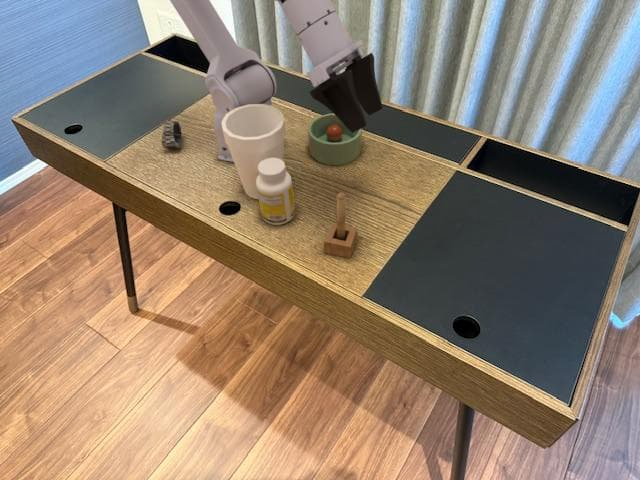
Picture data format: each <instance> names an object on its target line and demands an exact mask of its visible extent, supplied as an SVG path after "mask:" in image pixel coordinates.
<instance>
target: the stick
mask: <svg viewBox="0 0 640 480" xmlns="http://www.w3.org/2000/svg"><path fill="white" fill-rule="evenodd" d="M346 197H347V196H346V194H345V193H344V192H338V193H337V195H336V224H337V239H339V240H344V241H345V225H346V205H347V204H346V199H347V198H346Z"/></svg>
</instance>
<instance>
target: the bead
mask: <svg viewBox="0 0 640 480" xmlns="http://www.w3.org/2000/svg"><path fill="white" fill-rule="evenodd" d="M342 134H343V131H342V128H341V127H340V126H339V125H336V124H333V125H330V126H329V127H328V128H327V131H326V135H327V137H328V139H330V140H331V141H338V140H339V139H340V138H341V137H342Z"/></svg>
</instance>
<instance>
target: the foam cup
mask: <svg viewBox="0 0 640 480" xmlns="http://www.w3.org/2000/svg"><path fill="white" fill-rule="evenodd" d="M221 123H222V128H223V133H224V138H225V143H226V144H227V145H228V147H229V150H230V153H231V155H232V158H233V161H234V162H233V164H234V166H235V168H236V169H235V170H236V172H237V174H238V176H239V179H240V182H241V185H242V187H243V190H244V192H245V194H246V195H247V196H248V197H250V198H252V199H255V200H259V199H258V193H257V188H256V179H257V177H258V175H259V172H258V165H259V163H260V162H261V161H263V160H265V159H267V158H279V159H281V160H282V161H283V162H284V155H285V154H284V153H285V151H284V150H285V136H286V134H287V131H286V122H285V117H284V115H283V112H282V111H281V110H279V109H278V108H276V107H275V106H273V105H270V106H269V105H265V104H248V105H245V106H241V107H238V108H235V109H234V110H232V111H230V112H229V113H227V114H226V115H225V117H224V119H223V120H222V122H221Z"/></svg>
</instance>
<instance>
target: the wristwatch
mask: <svg viewBox="0 0 640 480" xmlns="http://www.w3.org/2000/svg"><path fill="white" fill-rule="evenodd" d="M182 138H183V132H182V126H181V124H180V122H179V121H178V120H165V122H164V126H163V131H162V134H161V145H162V147H163V148H165V149H169V150H173V149H175V150H177V149H180V148H181V145H182Z"/></svg>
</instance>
